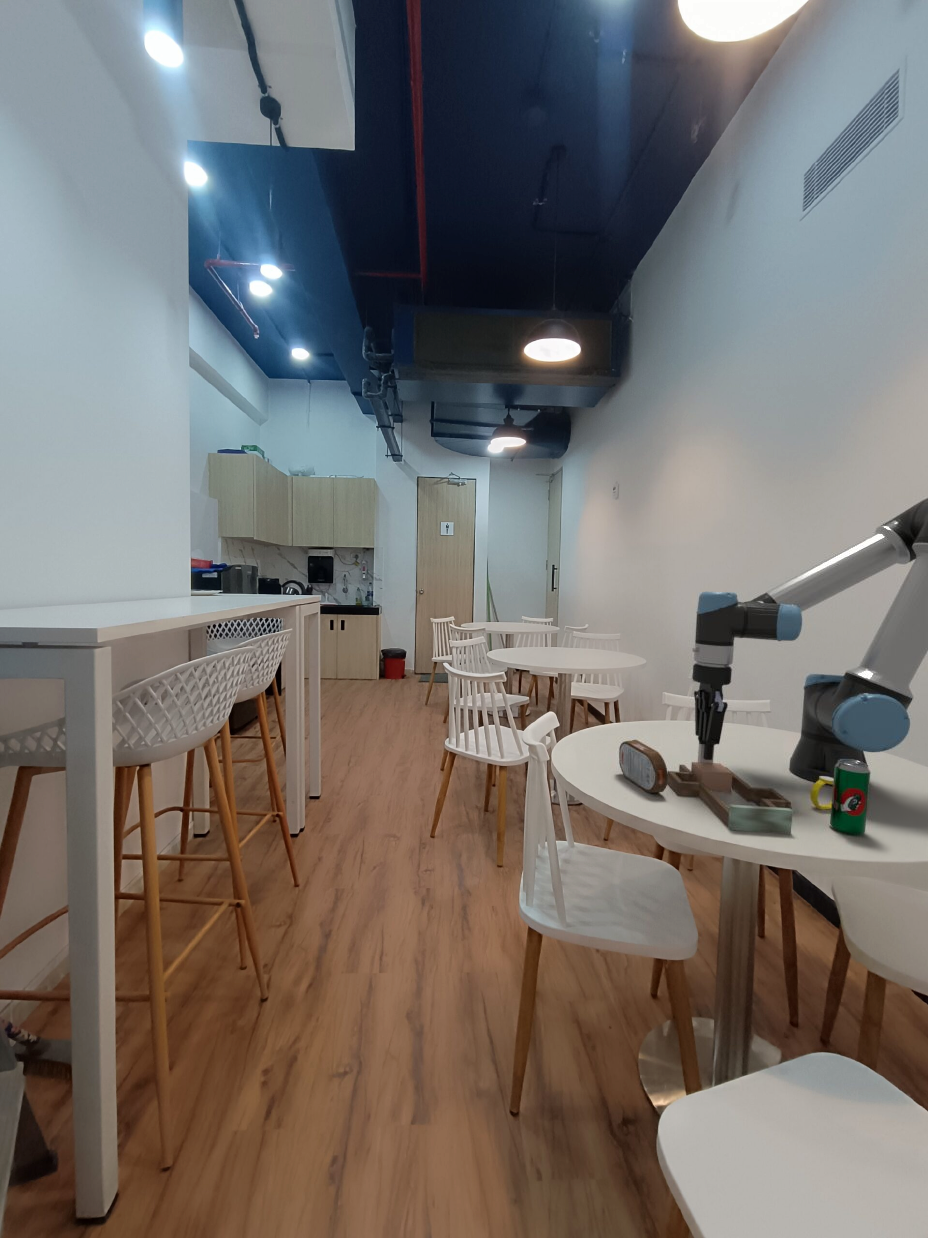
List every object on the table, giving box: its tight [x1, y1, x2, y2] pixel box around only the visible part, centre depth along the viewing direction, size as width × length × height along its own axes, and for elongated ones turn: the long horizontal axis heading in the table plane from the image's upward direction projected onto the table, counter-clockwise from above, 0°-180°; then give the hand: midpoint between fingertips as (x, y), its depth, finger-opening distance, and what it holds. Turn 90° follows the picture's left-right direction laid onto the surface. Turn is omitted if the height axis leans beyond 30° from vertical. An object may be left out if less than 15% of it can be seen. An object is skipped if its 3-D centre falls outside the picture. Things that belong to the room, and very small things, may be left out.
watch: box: [809, 776, 834, 811], centre depth 106 cm, size 6×3×6 cm, turn 104°
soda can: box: [829, 759, 871, 837], centre depth 96 cm, size 5×5×12 cm
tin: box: [618, 739, 668, 794], centre depth 115 cm, size 15×3×8 cm, turn 13°
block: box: [690, 761, 734, 793], centre depth 116 cm, size 6×6×4 cm
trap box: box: [667, 764, 794, 835], centre depth 108 cm, size 18×27×4 cm, turn 177°
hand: (704, 772), depth 120 cm, fingers closed
